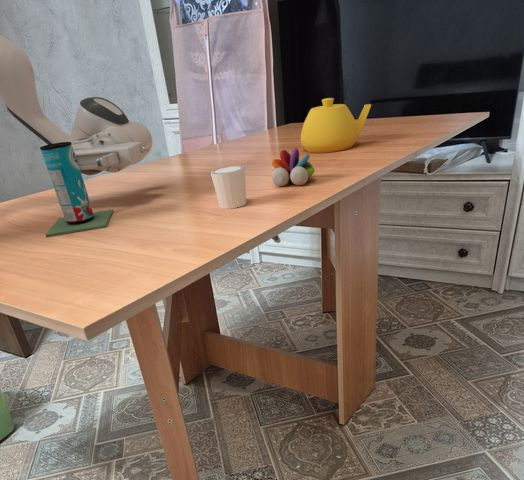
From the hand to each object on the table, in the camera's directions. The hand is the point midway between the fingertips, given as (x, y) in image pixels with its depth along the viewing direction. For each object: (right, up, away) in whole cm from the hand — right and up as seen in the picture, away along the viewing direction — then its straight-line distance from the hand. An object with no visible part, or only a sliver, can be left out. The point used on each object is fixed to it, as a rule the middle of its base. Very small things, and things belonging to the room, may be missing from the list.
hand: (80, 164), depth 98 cm
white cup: (+32, -9, -1) cm, 33 cm away
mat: (0, -12, +1) cm, 12 cm away
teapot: (+60, +21, +39) cm, 74 cm away
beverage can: (0, -12, +1) cm, 12 cm away
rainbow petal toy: (+45, -1, +8) cm, 46 cm away
